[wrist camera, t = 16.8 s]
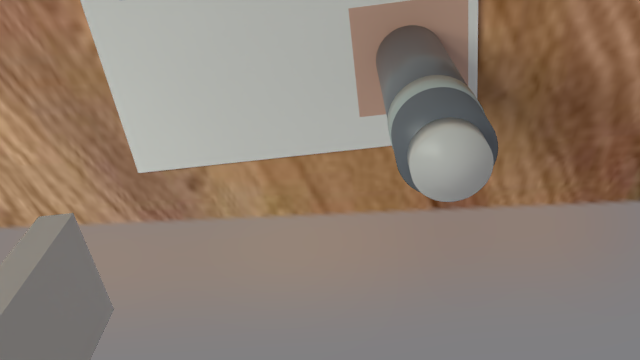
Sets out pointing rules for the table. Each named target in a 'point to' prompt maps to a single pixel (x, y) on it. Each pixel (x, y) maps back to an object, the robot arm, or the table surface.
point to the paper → (259, 73)
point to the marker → (433, 117)
